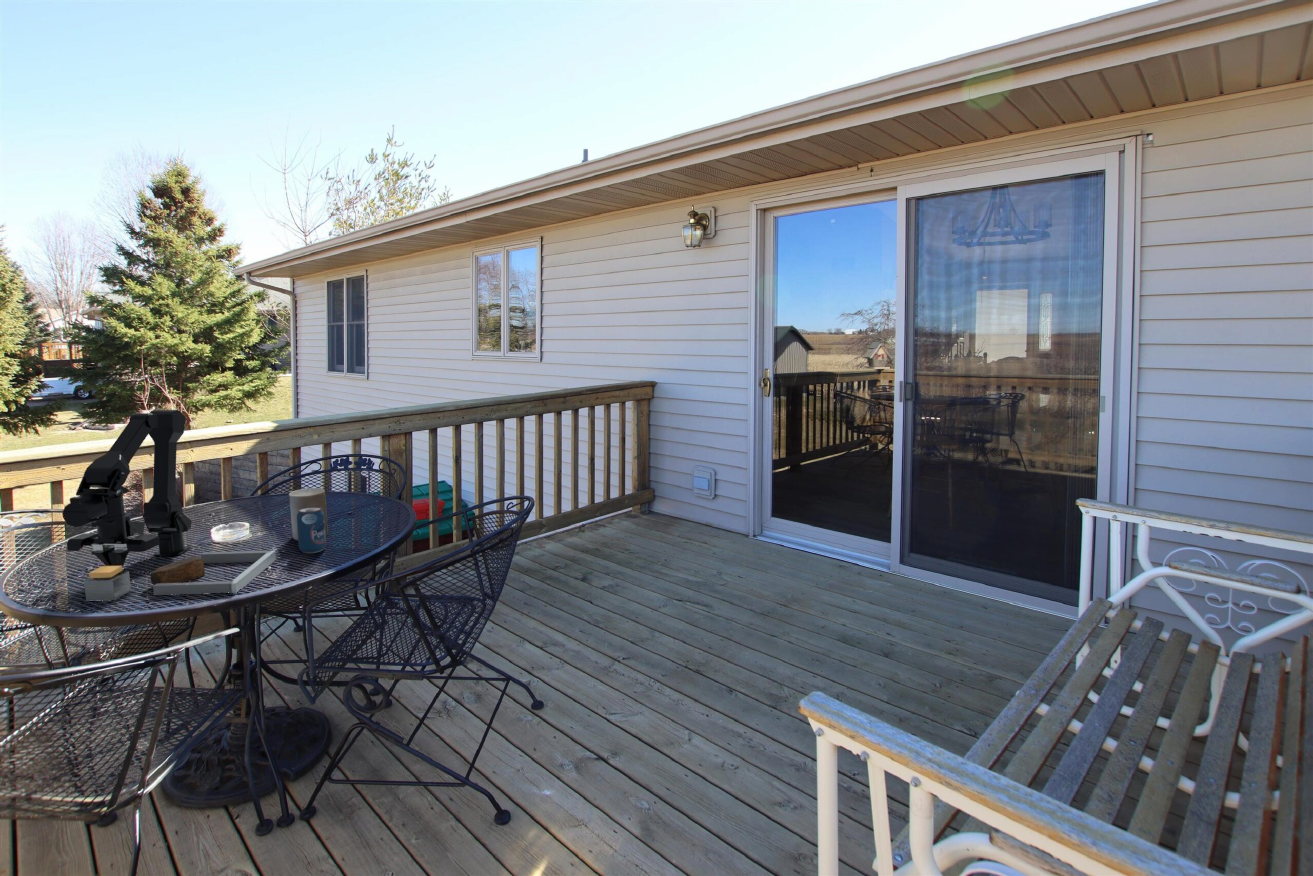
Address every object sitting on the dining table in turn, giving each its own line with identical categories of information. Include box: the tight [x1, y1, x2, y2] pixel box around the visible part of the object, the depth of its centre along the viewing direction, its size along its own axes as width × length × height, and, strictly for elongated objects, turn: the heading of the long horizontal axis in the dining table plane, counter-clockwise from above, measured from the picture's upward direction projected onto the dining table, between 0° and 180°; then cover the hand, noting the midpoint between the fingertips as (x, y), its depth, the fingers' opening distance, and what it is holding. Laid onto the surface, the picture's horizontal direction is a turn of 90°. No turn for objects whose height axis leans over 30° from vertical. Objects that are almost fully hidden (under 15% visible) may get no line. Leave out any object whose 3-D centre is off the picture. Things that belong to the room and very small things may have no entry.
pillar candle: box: [288, 487, 329, 541], centre depth 206 cm, size 10×10×15 cm
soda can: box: [297, 506, 327, 554], centre depth 195 cm, size 7×7×12 cm
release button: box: [88, 565, 124, 579], centre depth 161 cm, size 4×4×5 cm
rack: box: [152, 550, 277, 596], centre depth 175 cm, size 24×18×2 cm
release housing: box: [83, 570, 132, 602], centre depth 161 cm, size 6×6×5 cm
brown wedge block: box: [149, 556, 206, 586], centre depth 171 cm, size 11×4×5 cm, turn 155°
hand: (117, 575), depth 172 cm, fingers closed
